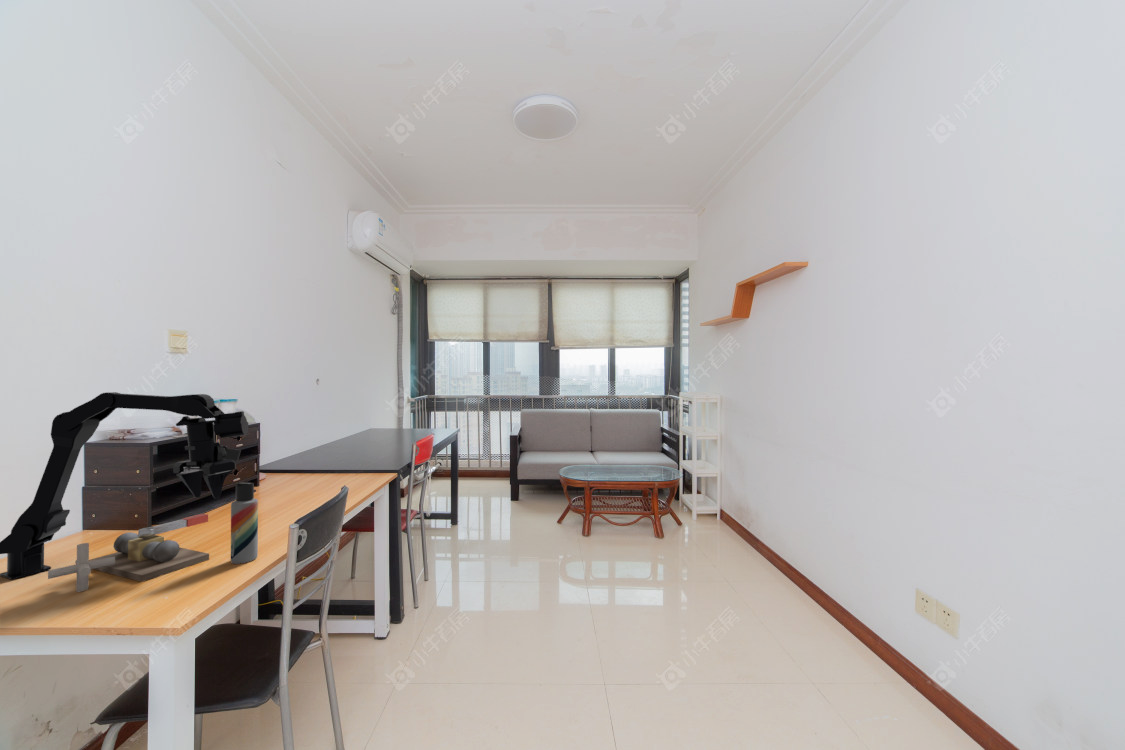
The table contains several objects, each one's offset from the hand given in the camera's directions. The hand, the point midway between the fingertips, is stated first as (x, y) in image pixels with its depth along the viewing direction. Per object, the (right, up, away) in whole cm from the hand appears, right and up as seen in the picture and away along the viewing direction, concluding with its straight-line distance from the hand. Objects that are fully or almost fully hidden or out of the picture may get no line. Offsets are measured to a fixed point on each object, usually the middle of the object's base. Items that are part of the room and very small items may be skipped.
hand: (207, 497), depth 120 cm
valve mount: (-10, -15, -7) cm, 19 cm away
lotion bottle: (+14, -15, -6) cm, 21 cm away
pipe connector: (-10, -15, -22) cm, 28 cm away
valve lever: (-8, -8, -1) cm, 11 cm away
